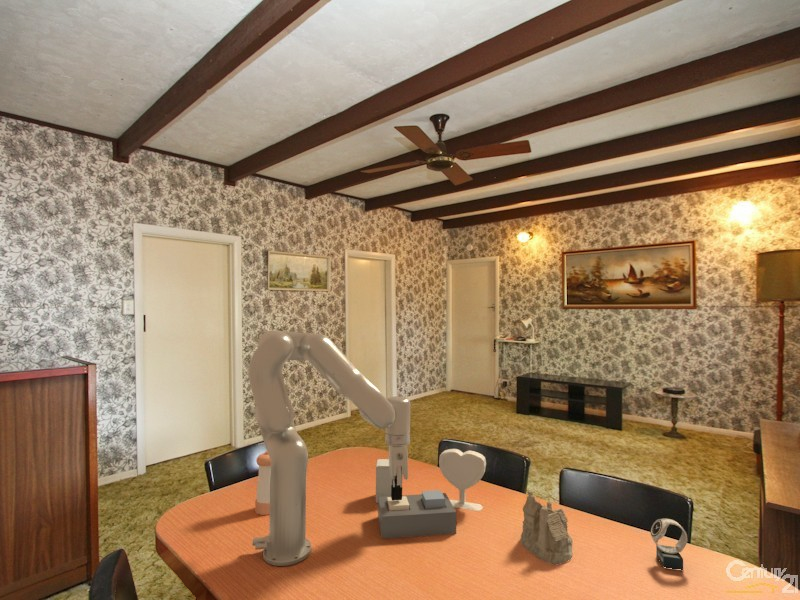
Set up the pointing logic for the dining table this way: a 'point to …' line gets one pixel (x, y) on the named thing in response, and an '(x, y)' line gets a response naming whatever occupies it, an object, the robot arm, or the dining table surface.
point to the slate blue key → (433, 499)
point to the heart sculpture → (462, 473)
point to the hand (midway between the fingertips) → (396, 498)
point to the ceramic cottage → (545, 532)
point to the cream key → (397, 504)
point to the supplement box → (383, 479)
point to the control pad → (416, 519)
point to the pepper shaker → (263, 484)
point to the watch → (667, 553)
